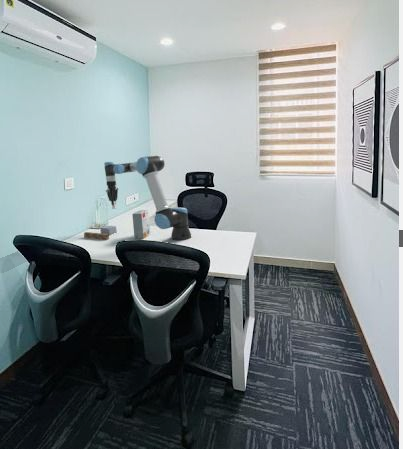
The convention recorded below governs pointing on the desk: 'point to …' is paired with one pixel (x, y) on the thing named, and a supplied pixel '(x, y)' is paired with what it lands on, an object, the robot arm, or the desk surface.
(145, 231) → the hard drive box
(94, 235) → the walnut stop board
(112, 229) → the slate block
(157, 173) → the robot arm
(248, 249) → the desk surface
